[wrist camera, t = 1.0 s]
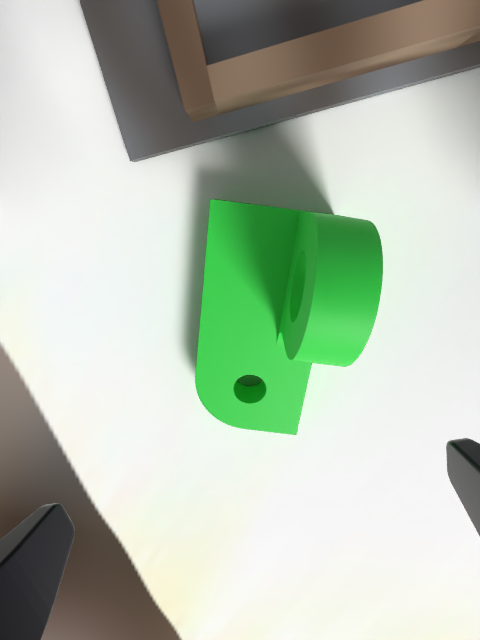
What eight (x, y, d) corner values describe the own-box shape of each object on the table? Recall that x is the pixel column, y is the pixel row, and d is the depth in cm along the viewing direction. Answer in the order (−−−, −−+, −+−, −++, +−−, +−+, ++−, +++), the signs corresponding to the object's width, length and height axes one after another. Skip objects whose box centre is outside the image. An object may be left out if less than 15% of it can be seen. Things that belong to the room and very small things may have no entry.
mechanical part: (215, 199, 17) (185, 198, 9) (333, 214, 17) (401, 226, 9) (196, 402, 21) (165, 517, 13) (292, 413, 21) (315, 535, 13)
